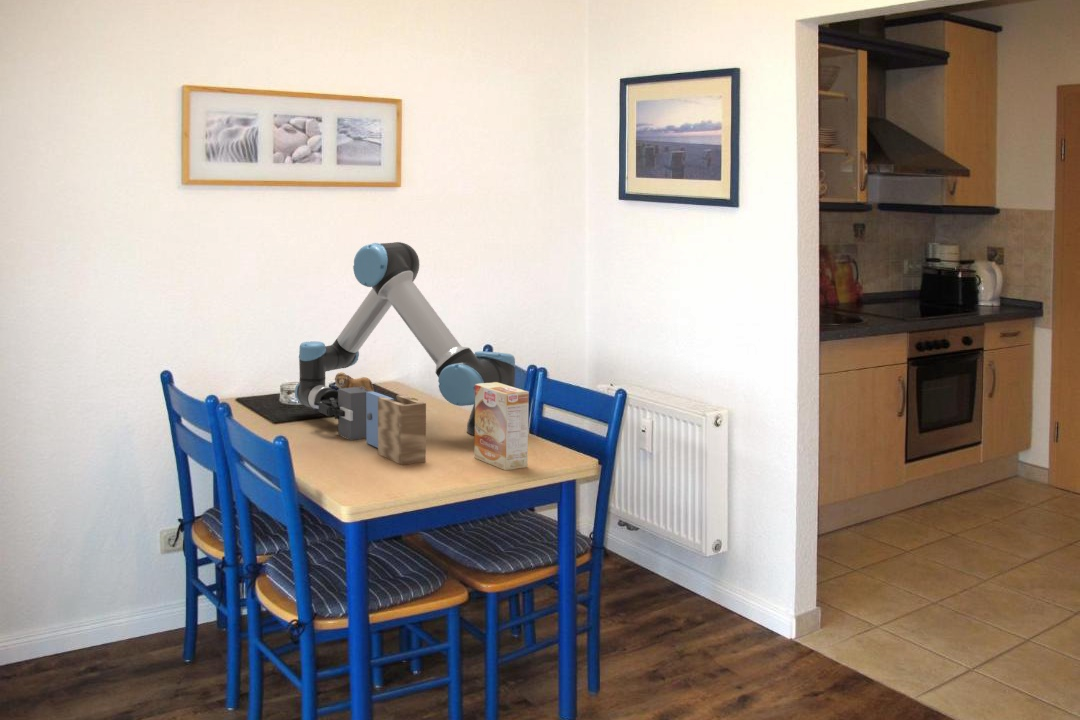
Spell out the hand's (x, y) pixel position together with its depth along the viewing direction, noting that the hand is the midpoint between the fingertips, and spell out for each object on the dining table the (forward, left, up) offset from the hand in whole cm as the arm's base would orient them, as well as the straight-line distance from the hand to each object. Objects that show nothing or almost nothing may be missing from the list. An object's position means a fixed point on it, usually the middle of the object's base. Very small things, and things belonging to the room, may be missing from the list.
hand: (361, 414), depth 296 cm
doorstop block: (+3, -4, -7) cm, 9 cm away
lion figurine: (+16, -57, -7) cm, 59 cm away
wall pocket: (-14, +17, -7) cm, 23 cm away
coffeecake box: (-40, +18, -7) cm, 45 cm away
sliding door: (-7, +9, -7) cm, 13 cm away
